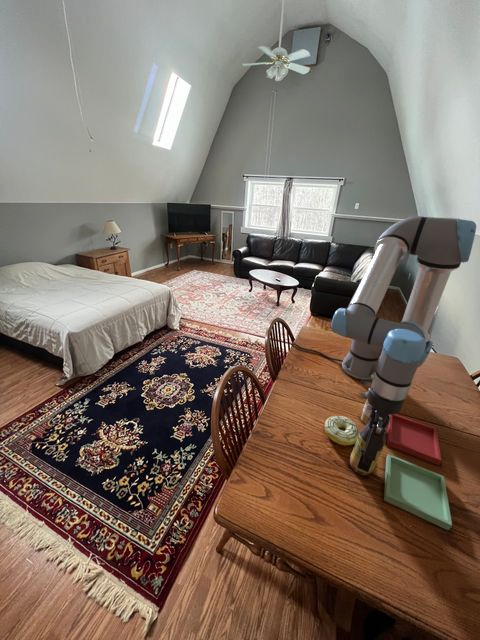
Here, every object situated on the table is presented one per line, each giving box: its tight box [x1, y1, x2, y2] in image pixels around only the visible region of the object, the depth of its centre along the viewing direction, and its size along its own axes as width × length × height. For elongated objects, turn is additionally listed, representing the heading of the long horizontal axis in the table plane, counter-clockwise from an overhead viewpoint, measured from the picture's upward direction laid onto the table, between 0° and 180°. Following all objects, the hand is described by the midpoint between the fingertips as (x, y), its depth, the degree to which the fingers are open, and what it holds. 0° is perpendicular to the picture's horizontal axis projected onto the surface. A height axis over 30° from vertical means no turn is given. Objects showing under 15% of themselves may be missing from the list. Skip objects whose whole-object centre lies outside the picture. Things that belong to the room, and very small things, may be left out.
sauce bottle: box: [349, 415, 390, 476], centre depth 71 cm, size 6×6×20 cm
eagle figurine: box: [359, 379, 373, 400], centre depth 103 cm, size 8×7×9 cm
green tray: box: [383, 453, 453, 531], centre depth 70 cm, size 14×14×2 cm
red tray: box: [386, 413, 442, 466], centre depth 85 cm, size 14×14×2 cm
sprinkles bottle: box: [360, 388, 372, 425], centre depth 89 cm, size 5×5×14 cm
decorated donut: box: [323, 415, 361, 447], centre depth 85 cm, size 10×11×4 cm
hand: (364, 457), depth 74 cm, fingers open, 7 cm apart
